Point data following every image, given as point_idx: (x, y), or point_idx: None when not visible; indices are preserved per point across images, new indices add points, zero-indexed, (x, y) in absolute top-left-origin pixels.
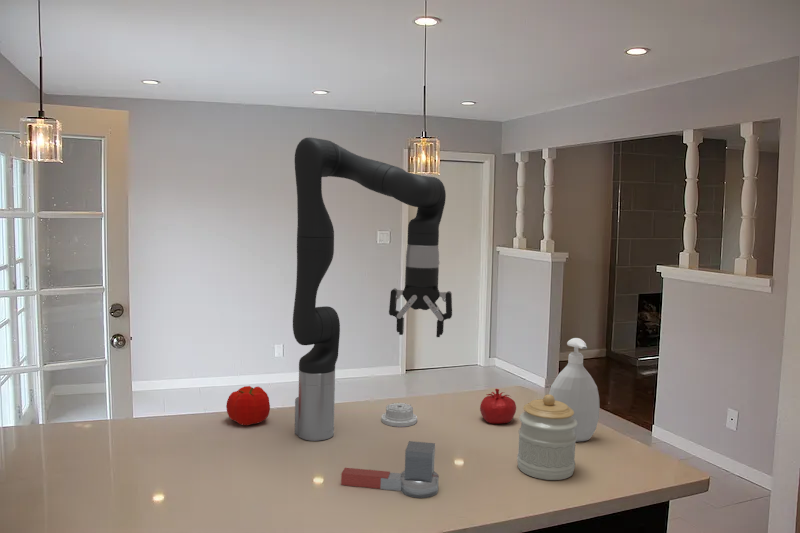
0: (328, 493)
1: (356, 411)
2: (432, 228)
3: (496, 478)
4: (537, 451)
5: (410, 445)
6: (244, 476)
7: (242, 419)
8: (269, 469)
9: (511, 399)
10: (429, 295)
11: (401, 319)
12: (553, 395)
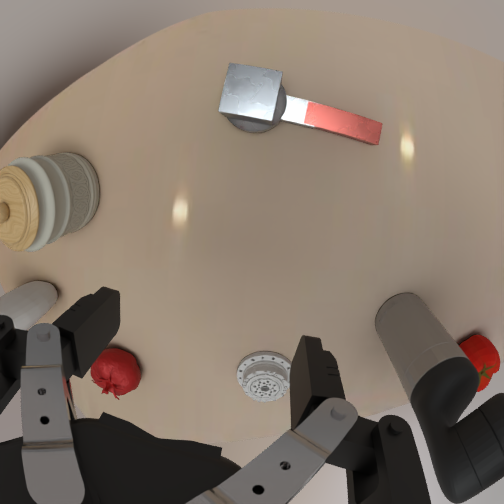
0: (391, 101)
1: None
2: None
3: (133, 151)
4: (61, 159)
5: (270, 97)
6: (486, 171)
7: (481, 336)
8: (464, 190)
9: (92, 376)
10: (30, 500)
11: (319, 394)
12: (20, 314)
